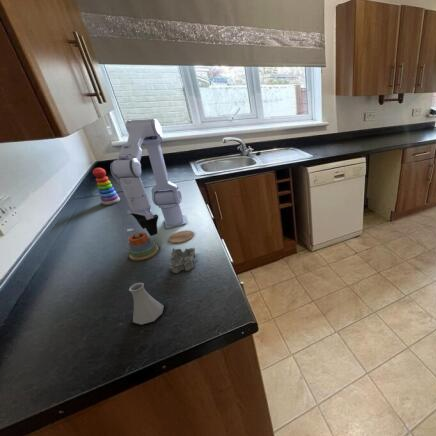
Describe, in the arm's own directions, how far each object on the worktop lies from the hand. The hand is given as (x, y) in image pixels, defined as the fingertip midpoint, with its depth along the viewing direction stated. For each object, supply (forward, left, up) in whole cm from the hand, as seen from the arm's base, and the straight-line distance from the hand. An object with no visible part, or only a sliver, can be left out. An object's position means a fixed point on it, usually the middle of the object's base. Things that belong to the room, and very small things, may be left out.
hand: (149, 231), depth 95 cm
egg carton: (+12, +8, -10) cm, 17 cm away
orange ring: (-3, -4, -4) cm, 7 cm away
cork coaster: (-8, +9, -10) cm, 15 cm away
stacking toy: (-68, -19, -10) cm, 71 cm away
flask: (+32, -3, -10) cm, 34 cm away
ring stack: (-3, -4, -10) cm, 11 cm away
